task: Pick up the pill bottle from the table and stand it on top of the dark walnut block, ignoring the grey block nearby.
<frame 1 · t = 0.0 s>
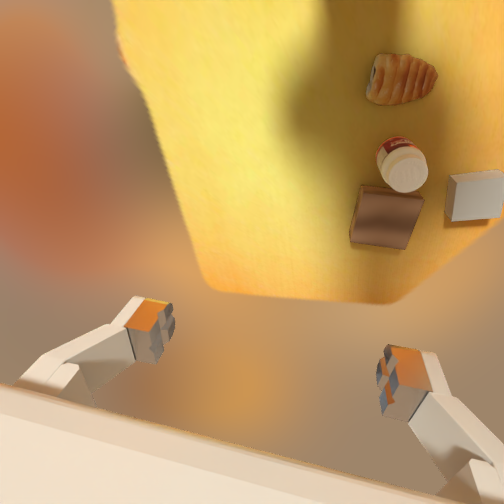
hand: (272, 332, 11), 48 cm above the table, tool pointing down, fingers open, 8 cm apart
grey block: (469, 191, 52), on the table
walnut block: (381, 213, 57), on the table
pastry: (395, 78, 46), on the table
pill bottle: (393, 154, 51), on the table
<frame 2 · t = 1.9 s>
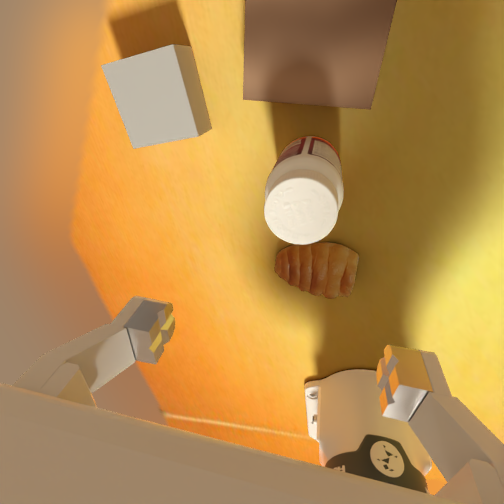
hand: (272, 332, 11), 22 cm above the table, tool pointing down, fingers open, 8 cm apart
grey block: (171, 97, 29), on the table
walnut block: (317, 29, 24), on the table
pastry: (321, 263, 36), on the table
pill bottle: (309, 166, 30), on the table
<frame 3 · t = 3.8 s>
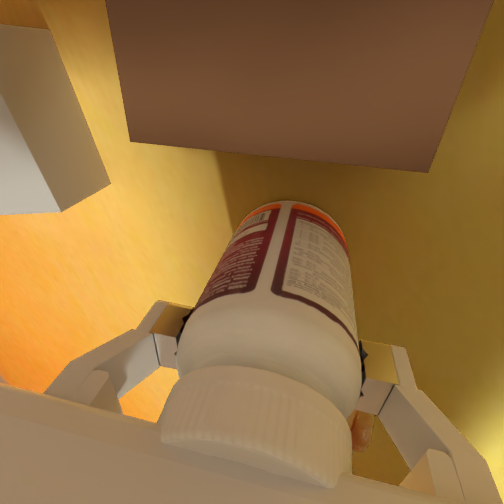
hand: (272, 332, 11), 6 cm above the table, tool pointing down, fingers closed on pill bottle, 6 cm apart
grey block: (33, 123, 16), on the table
pastry: (314, 382, 23), on the table
pill bottle: (290, 246, 16), on the table, touching gripper
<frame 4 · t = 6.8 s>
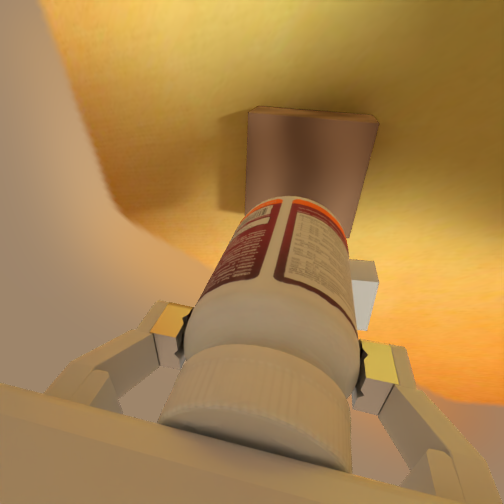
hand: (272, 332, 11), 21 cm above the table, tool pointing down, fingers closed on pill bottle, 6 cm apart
grey block: (337, 281, 36), on the table
walnut block: (305, 166, 29), on the table
pill bottle: (291, 241, 17), point 14 cm above the table, touching gripper
when the fingers open (11 cm above the table, at t = 9.9 s): pill bottle stays where it is, resting on walnut block.
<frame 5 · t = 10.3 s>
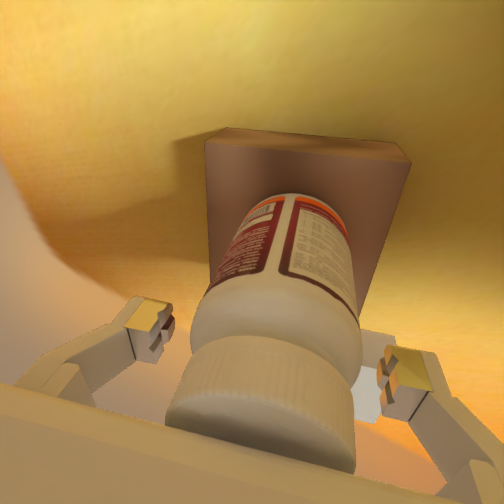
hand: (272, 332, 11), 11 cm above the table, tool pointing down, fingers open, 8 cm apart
grey block: (341, 351, 27), on the table
walnut block: (296, 211, 20), on the table
pill bottle: (293, 238, 17), point 4 cm above the table, touching walnut block
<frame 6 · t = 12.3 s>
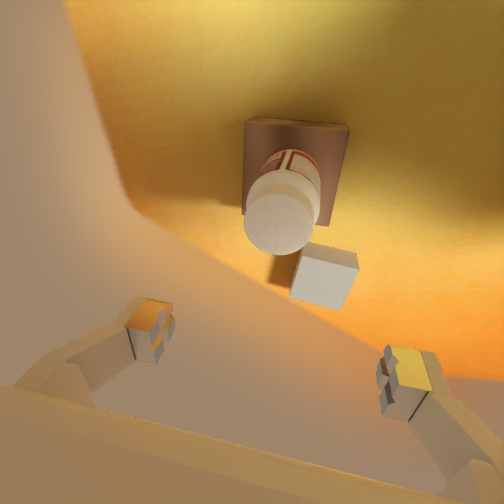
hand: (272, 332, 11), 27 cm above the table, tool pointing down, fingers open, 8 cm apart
grey block: (322, 266, 41), on the table
walnut block: (292, 166, 34), on the table
pill bottle: (291, 177, 31), point 4 cm above the table, touching walnut block
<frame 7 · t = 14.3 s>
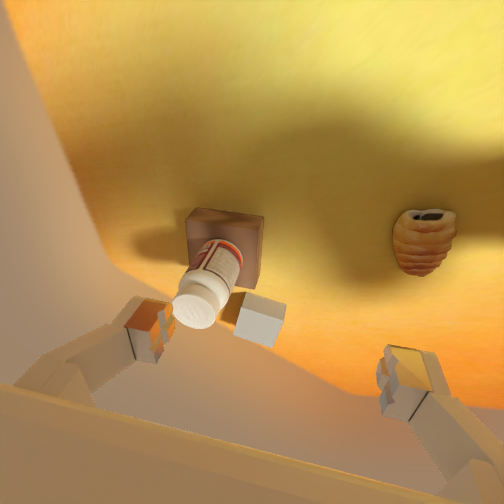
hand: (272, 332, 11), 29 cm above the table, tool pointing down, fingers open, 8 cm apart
grey block: (261, 311, 52), on the table
walnut block: (229, 241, 45), on the table
pastry: (420, 234, 38), on the table
pill bottle: (223, 255, 42), point 4 cm above the table, touching walnut block
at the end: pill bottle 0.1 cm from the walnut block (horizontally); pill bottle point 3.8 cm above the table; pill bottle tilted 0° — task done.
